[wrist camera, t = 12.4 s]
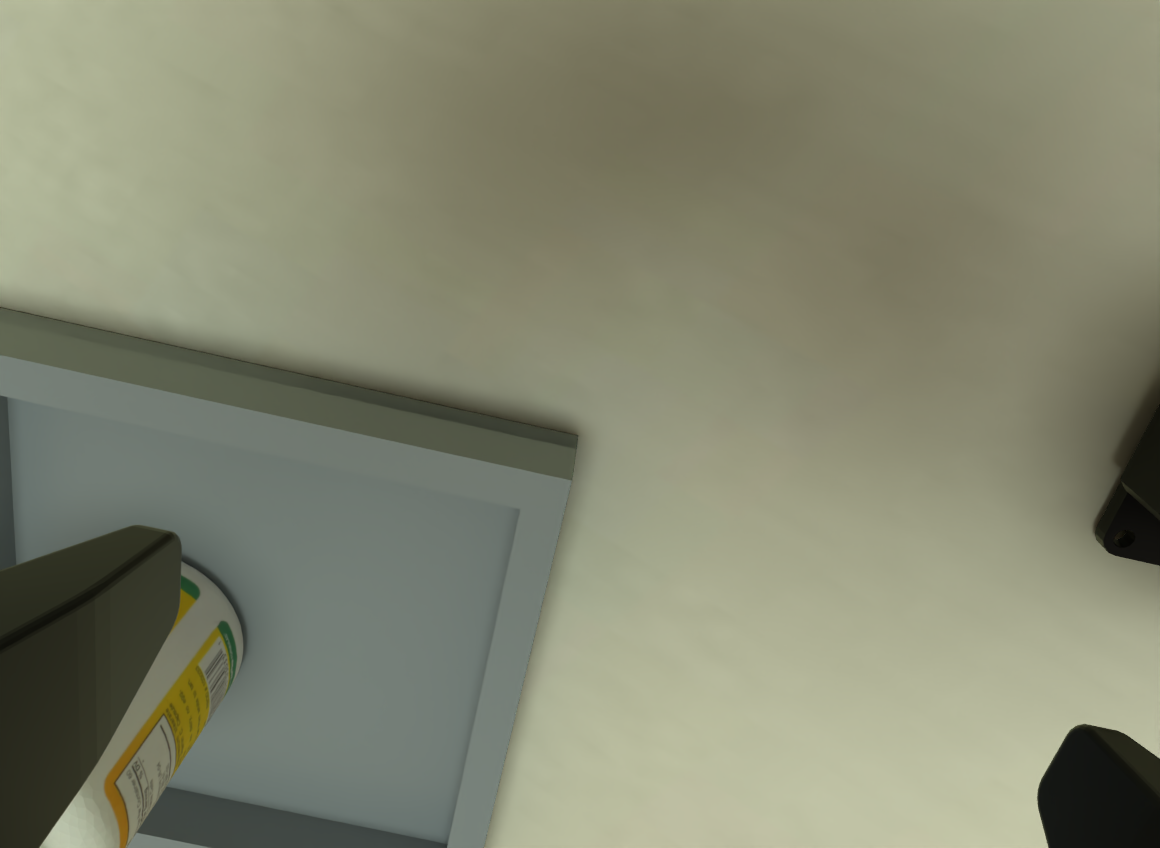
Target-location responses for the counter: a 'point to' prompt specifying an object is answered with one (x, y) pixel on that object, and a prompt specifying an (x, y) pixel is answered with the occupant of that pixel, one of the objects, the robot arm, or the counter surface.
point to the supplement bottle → (158, 721)
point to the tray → (303, 574)
